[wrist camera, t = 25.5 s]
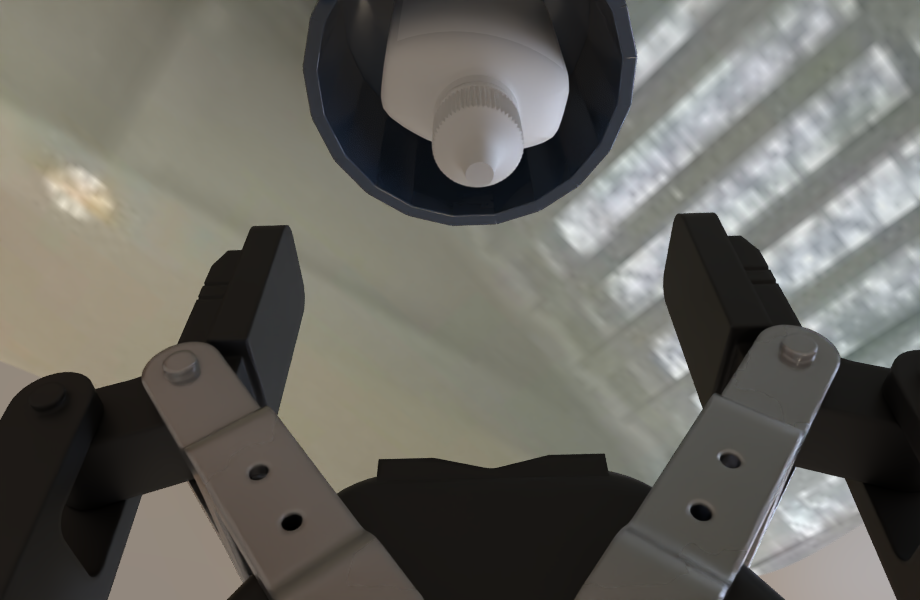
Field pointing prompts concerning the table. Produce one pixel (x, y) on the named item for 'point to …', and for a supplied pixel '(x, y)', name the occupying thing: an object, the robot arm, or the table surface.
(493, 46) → the eye dropper bottle
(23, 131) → the table surface
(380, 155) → the dark blue round container
